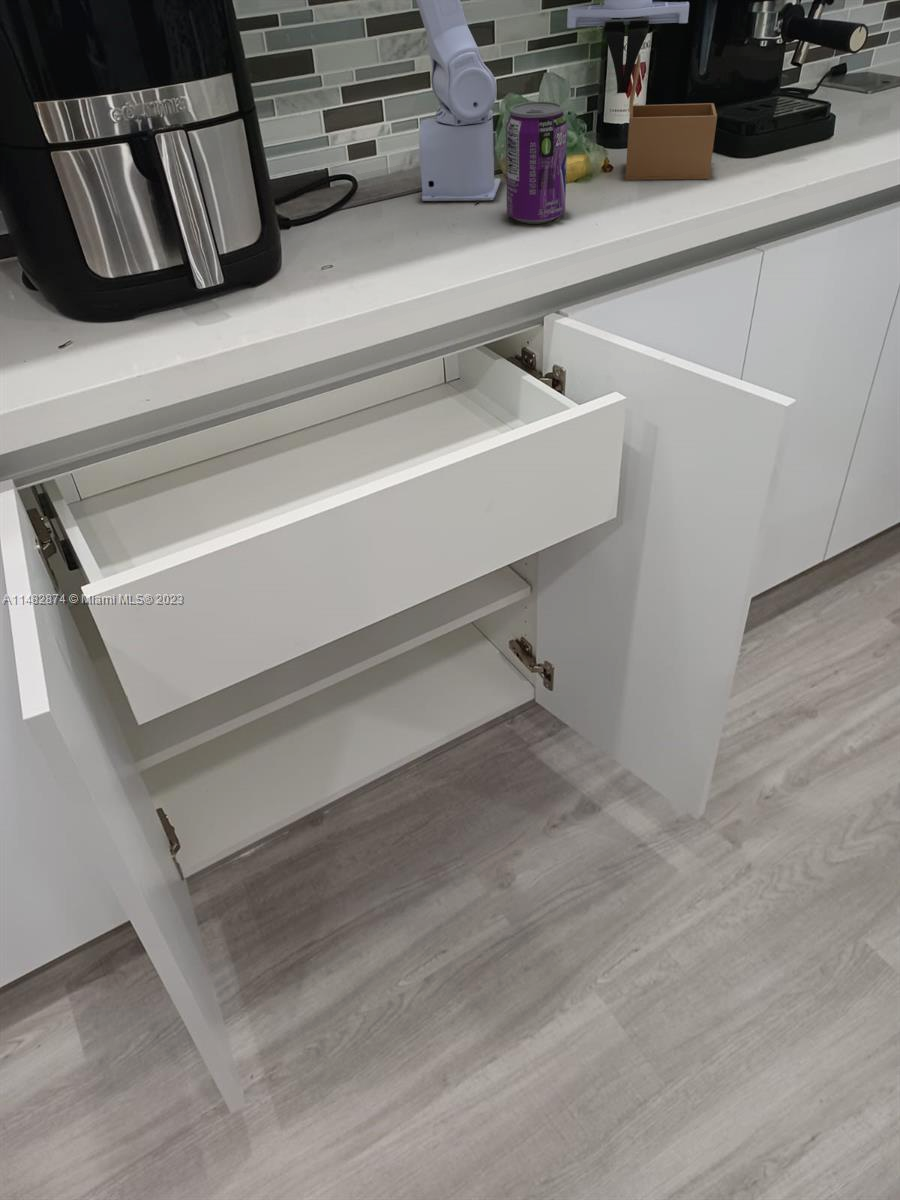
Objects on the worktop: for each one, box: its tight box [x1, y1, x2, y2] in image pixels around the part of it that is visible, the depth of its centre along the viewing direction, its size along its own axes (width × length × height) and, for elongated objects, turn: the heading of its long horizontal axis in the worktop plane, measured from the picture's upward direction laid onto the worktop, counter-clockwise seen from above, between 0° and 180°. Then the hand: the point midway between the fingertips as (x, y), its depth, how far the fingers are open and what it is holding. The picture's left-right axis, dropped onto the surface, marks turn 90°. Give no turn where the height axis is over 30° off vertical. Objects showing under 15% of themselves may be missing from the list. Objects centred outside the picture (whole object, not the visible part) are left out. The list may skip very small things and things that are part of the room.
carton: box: [624, 102, 718, 181], centre depth 115 cm, size 11×7×7 cm, turn 81°
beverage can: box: [505, 100, 568, 225], centre depth 103 cm, size 7×7×12 cm
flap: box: [628, 53, 641, 114], centre depth 111 cm, size 5×7×1 cm
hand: (622, 91), depth 112 cm, fingers closed
